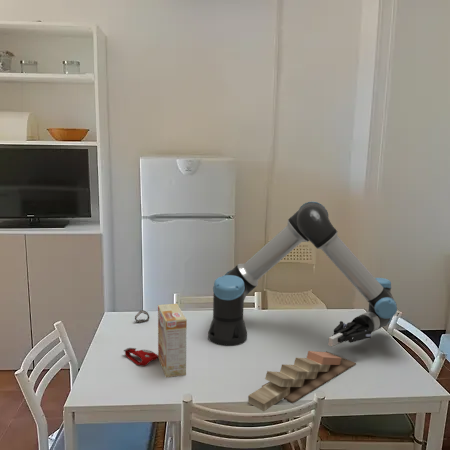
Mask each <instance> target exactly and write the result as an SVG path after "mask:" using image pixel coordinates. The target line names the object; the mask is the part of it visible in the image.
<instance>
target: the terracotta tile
mask: <svg viewBox="0 0 450 450" xmlns="http://www.w3.org/2000/svg"><path fill="white" fill-rule="evenodd" d="M327 352H328V351H327ZM327 352H326V351H325V352H324V351H313V350H312V351H311V350H308V351H307V355H306V358H308V359H310V360H312V361H315V362H317V363H320V364H324V365H340V362H341V358H340V357H341V356H339V357H337V356H338V355H337V356H335V355H336V354H334V355H332V354H333V353H332V354H330V353H331V352H329V353H327Z"/></svg>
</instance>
